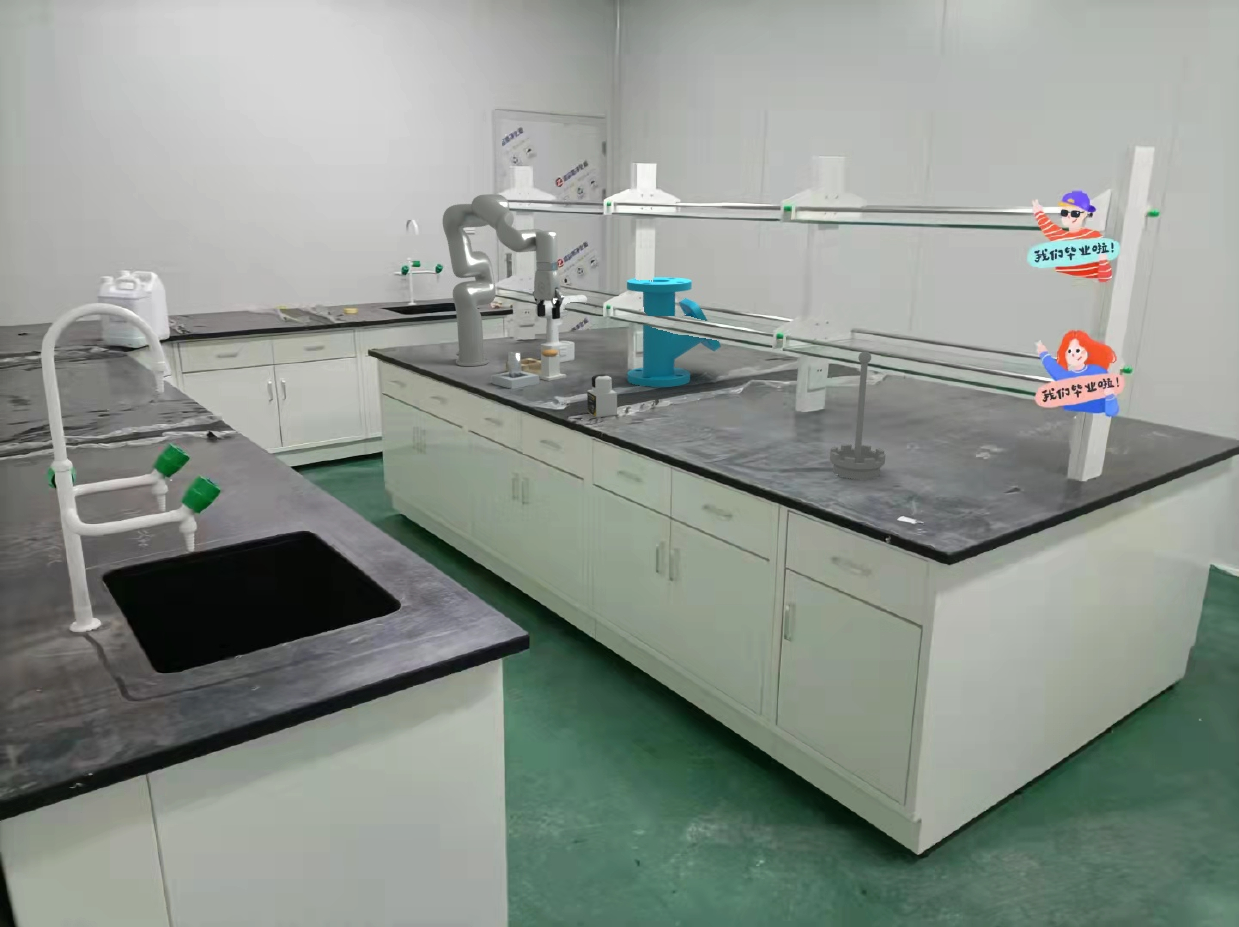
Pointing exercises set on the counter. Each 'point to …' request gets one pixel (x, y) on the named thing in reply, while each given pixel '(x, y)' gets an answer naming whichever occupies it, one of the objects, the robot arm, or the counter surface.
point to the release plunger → (549, 352)
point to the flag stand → (858, 441)
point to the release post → (550, 368)
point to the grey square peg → (514, 364)
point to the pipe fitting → (665, 333)
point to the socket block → (515, 380)
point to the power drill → (552, 331)
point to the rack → (529, 366)
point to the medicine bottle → (602, 397)
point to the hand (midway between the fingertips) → (548, 317)
